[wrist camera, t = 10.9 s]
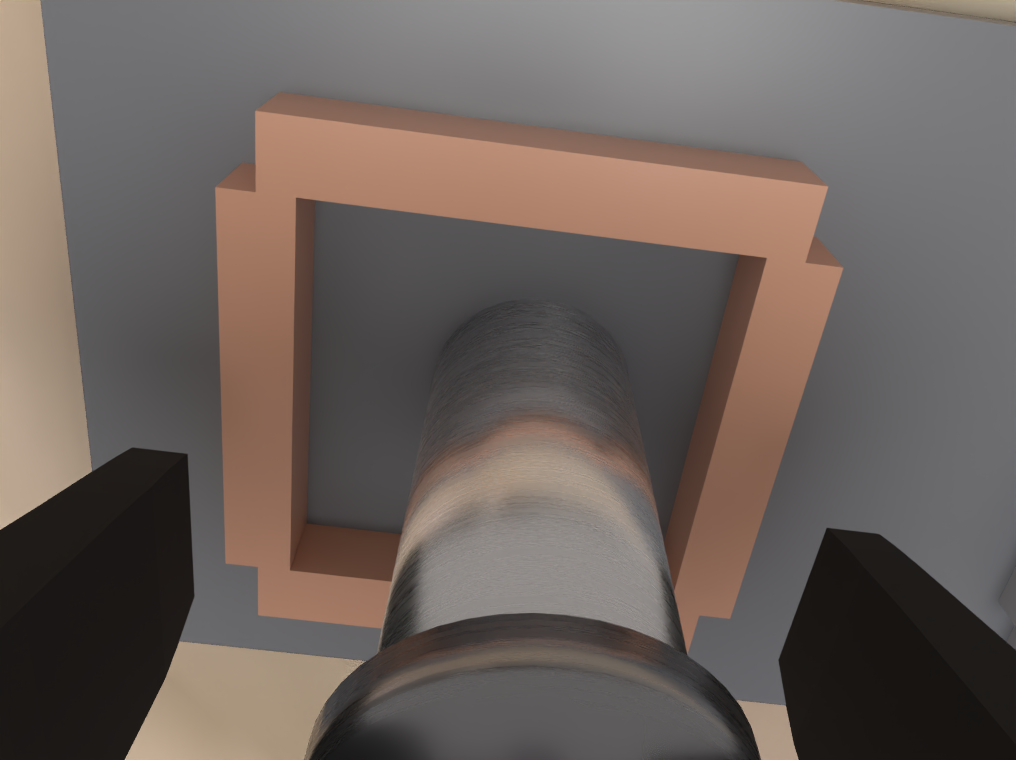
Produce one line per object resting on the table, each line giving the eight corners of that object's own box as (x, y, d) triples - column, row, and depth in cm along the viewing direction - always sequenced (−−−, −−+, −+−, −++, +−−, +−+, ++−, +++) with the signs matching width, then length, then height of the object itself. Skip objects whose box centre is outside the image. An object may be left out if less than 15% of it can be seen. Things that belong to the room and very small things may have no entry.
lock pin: (629, 504, 15) (717, 1030, 8) (399, 477, 15) (282, 989, 8) (678, 290, 13) (848, 728, 6) (416, 258, 13) (286, 668, 6)
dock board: (1415, 734, 18) (1521, 832, 16) (131, 596, 17) (81, 684, 15) (1924, 151, 13) (2176, 196, 11) (65, -113, 12) (-28, -116, 10)
